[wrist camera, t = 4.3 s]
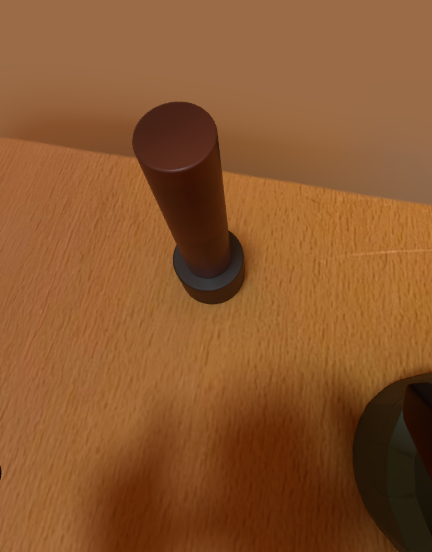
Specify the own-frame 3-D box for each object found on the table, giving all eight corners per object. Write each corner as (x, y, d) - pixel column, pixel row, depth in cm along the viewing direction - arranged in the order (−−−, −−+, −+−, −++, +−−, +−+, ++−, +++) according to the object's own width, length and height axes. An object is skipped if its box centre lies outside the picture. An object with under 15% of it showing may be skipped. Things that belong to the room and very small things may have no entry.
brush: (256, 278, 23) (268, 140, 11) (206, 317, 22) (156, 219, 10) (218, 233, 24) (188, 62, 12) (169, 269, 23) (84, 129, 11)
